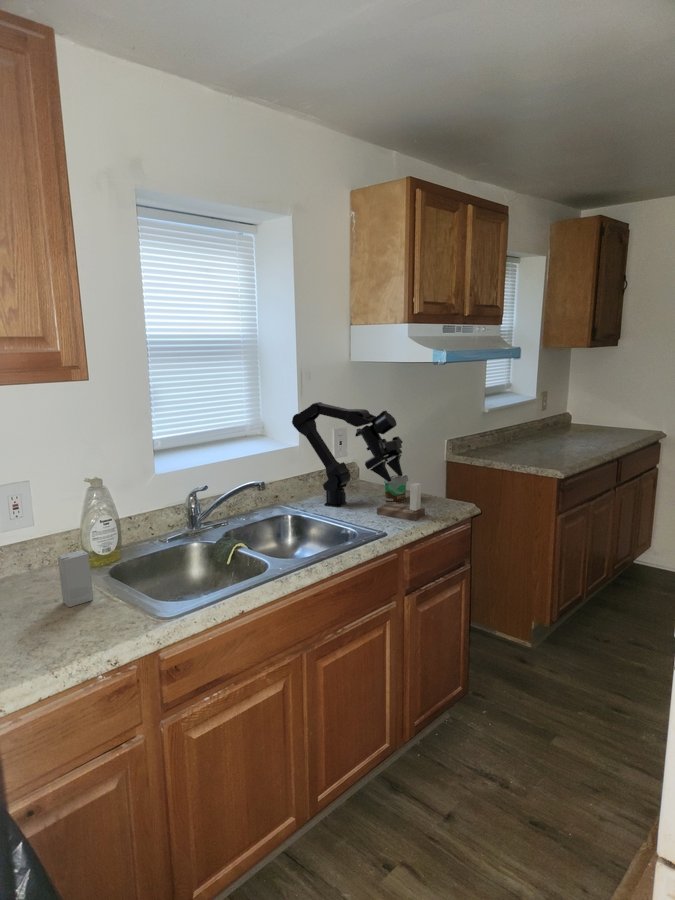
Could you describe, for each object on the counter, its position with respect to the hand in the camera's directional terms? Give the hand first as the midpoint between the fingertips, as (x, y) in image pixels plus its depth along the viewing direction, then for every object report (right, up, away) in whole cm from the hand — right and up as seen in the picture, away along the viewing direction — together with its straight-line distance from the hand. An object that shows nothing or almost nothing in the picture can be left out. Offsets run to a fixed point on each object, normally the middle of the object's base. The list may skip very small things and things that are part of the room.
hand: (395, 478), depth 211 cm
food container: (+3, -10, +19) cm, 22 cm away
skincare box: (-83, -27, -67) cm, 110 cm away
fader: (+6, -11, -3) cm, 13 cm away
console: (+2, -13, +1) cm, 13 cm away
